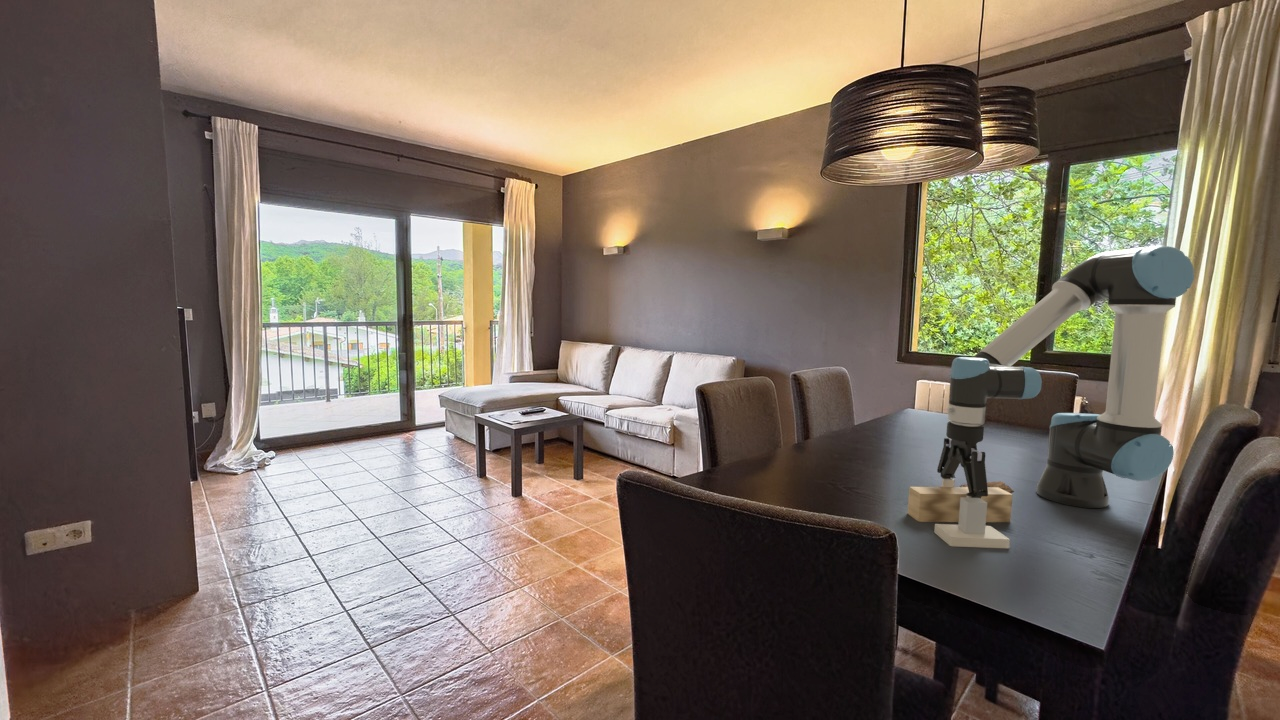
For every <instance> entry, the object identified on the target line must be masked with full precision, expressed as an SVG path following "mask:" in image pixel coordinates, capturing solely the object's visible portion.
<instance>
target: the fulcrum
mask: <svg viewBox="0 0 1280 720" xmlns="http://www.w3.org/2000/svg"><path fill="white" fill-rule="evenodd" d="M986 513H987V502H985V501H983V500H982V499H980V498H966V497H961V498H960V510H959V522H957V523H958V524H950V523H949V524H948V523H947V524H946V523H945V524H944V523H935V524H934V531H933V532H934V533H935V534H936V535H937V536H938V537H939V538H940V539H941V540H942V541H944V542H945V544H947V545H948V546H950V547H959V548H960V547H962V548H963V547H964V548H987V549H1010V541H1011V540H1010V538H1008V537H1007V536H1006V535H1004V534H1003V533H1002V532H1000V531H998V530H997V529H995V528H994V527H993V526H991V525H987V524H986V523H987V522H986Z"/></svg>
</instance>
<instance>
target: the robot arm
mask: <svg viewBox="0 0 1280 720" xmlns="http://www.w3.org/2000/svg"><path fill="white" fill-rule="evenodd" d="M1194 278H1195V270H1194V265H1193V263H1192V261H1191V259H1190V257H1189V256H1187V255H1185V252H1183V251H1182V250H1180V249H1179V248H1176V247H1173V246H1169V245H1168V246H1167V245H1154V246H1153V245H1151V246H1142V247H1135V248H1128V249H1119V250H1117V249H1116V250H1108V251H1104V252H1100V253H1098V254H1097V253H1096V254H1095V255H1093V256H1091V257H1089V258H1087V259H1085V260H1084V261H1082V262H1080V263H1079V264H1078V265H1076V266H1074V267H1073V268H1072V269H1070V270H1068V272H1067V273H1065V274H1064V275H1062V276H1061V277H1060V278H1059V279H1058V280H1056V281H1055V282H1054V283H1053V284H1052V287H1051V291H1050V292H1049V293H1047V294H1046V295H1045V296H1044V297H1043V298H1041V300H1040V301H1038V302H1037V303H1036V304H1034V305H1033V306H1032V307H1031V308H1030V309H1028V310H1027V311H1026V312H1025V313H1024V314H1023V315H1022V316H1020V317H1019V318H1018V319H1017V320H1015V322H1013V323H1012V324H1011V325H1009V326H1007V328H1006V329H1005V330H1003V332H1002V331H1001V333H1000V334H999V335H997V336H996V337H995V338H994V339H992V341H990V342H989V343H988V344H987V345H985V347H983V348H982V349H981V350H980V351H978V353H976V354H975V355H974V356H973V357H969V356H959V357H955V358H954V359H953V360H952V363H951V369H950V375H949V379H950V381H949V393H948V394H949V396H948V408H947V409H946V412H947V420H948V422H947V423H946V437H944V439H943V447H942V451H941V455H940V458H939V461H938V465H937V469H936V470H937V473H938V474H940V477H941V486H940V487H955V481H956V480H955V479H956V477H955V476H956V475H955V473H956V471H957V469H958V468H959V465H960V466H961V467H962V468H963V471H964V475H965V481H966V484H967V485H968V490H969V493H967V494H966V495H967V498H980V499H981V497H982V496H988V488H987V482H988V479H987V472H986V471H987V469H986V452H985V451H979V450H978V447H977V444H978V443H981V442H983V440H984V435H985V433H984V432H985V426H983V424H985V421H986V410H987V401H988V399H1015V400H1017V399H1018V400H1023V399H1024V400H1026V399H1033V398H1035V397H1038V394H1040V392H1041V390H1042V383H1043V379H1042V377H1041V374H1040V372H1039V371H1038V370H1037V369H1036V368H1033V367H1030V366H1027V367H1026V366H1021V365H1018V366H1013V365H1014V364H1016V362H1018V361H1019V360H1020V359H1021V358H1023V356H1026V354H1028V353H1029V352H1030V351H1031V350H1032V349H1034V348H1035V347H1036V346H1038V344H1039V343H1041V342H1042V341H1043V340H1044V339H1046V338H1047V337H1048V336H1049V335H1051V333H1053V332H1054V331H1055V330H1056V329H1057V328H1059V327H1060V326H1061V325H1063V324H1064V323H1065V322H1066V321H1067V320H1069V319H1070V318H1071V317H1072V316H1073V315H1075V314H1076V313H1077V312H1078V311H1085V310H1087V309H1088V308H1090V307H1091V306H1092V305H1094V304H1095V303H1097V302H1100V301H1102V300H1106V299H1107V300H1108V302H1107V307H1109V309H1111V310H1112V311H1113V312H1114V313H1115V314H1114V324H1113V334H1112V343H1111V344H1112V345H1111V352H1110V353H1111V354H1110V363H1109V373H1108V384H1107V394H1106V395H1107V396H1106V405H1105V411H1104V412H1102V413H1101V414H1098V413H1081V412H1058V413H1055V414H1053V415H1052V417H1051V421H1050V425H1049V426H1048V427H1049V432H1048V444H1047V445H1048V446H1047V459H1046V466H1045V468H1044V470H1043V472H1042V474H1041V475H1040V479H1039V480H1038V482H1037V484H1036V491H1035V493H1036V494H1037V495H1038V496H1040V497H1042V498H1044V499H1046V500H1049V501H1052V502H1055V503H1059V504H1062V505H1065V506H1073V507H1078V508H1085V509H1087V508H1088V509H1102V508H1106V507H1108V505H1109V501H1110V495H1109V493H1108V489H1107V486H1106V484H1105V479H1104V476H1103V472H1107V473H1109V474H1112V475H1114V476H1116V477H1118V478H1122V479H1128V480H1131V481H1136V482H1147V481H1152V480H1153V479H1156V478H1159V477H1160V475H1162V474H1164V473H1165V472H1166V471H1167V470H1168V469H1169V467H1170V465H1171V464H1172V462H1173V459H1174V455H1175V454H1174V453H1175V452H1174V447H1173V445H1172V444H1171V443H1170V440H1169V439H1167V438H1166V437H1164V436H1163V435H1162V428H1163V427H1162V426H1163V425H1162V423H1161V422H1160V421H1159V420H1158V419H1156V417H1155V409H1156V400H1157V390H1158V381H1159V371H1160V365H1161V364H1160V362H1161V355H1162V354H1161V353H1162V344H1163V335H1164V325H1165V317H1166V316H1165V315H1166V314H1167V312H1169V311H1171V310H1172V309H1173V308H1175V307H1176V303H1177V301H1176V300H1177V298H1178V297H1180V296H1182V295H1185V294H1186V292H1188V290H1189V289H1190V288H1191V287H1192V285H1193V282H1194ZM982 490H983V491H982Z"/></svg>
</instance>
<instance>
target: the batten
mask: <svg viewBox="0 0 1280 720" xmlns="http://www.w3.org/2000/svg"><path fill="white" fill-rule="evenodd" d="M908 487H909V488H908V505H907V514H908V515H909V516H910V517H912V518H913V519H914V520H915V521H917V522H918V523H919V522H920V523H932V522H933V523H959V510H960V498H961V497H966V498H967V495H966V494H967V493H969V490H968V487H963V486H962V487H960V486H954V487H941V486H908ZM987 488H988V496H982V497H981V499H982V500H983V501H985V502H987V513H986V523H1011V519H1012V507H1013V505H1012V504H1013V498H1014V497H1013V495H1014V494H1013V493H1012V492H1010V493H1009V492H1007V491H1005V490H1003V489H1001V488H999V487H987ZM982 491H983V490H982Z"/></svg>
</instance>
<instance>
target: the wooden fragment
mask: <svg viewBox="0 0 1280 720" xmlns="http://www.w3.org/2000/svg"><path fill="white" fill-rule="evenodd" d="M959 487H968V485H967V483H966V484H961V485H959ZM987 487H999V488H1001V489H1003V490H1005V491H1007V492H1009V493H1014V489H1012V488H1011V487H1010V486H1008V485H1006V483H1005V482H1003V481H1001V480H999V481H987Z"/></svg>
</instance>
